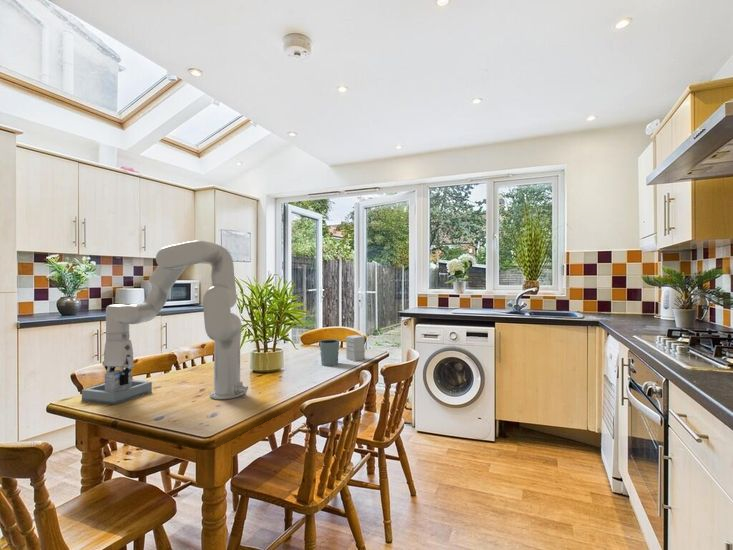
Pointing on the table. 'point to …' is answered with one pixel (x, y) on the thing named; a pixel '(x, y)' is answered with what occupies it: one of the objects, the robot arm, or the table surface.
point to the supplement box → (355, 347)
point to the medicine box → (115, 381)
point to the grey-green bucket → (329, 352)
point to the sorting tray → (116, 393)
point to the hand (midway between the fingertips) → (118, 383)
